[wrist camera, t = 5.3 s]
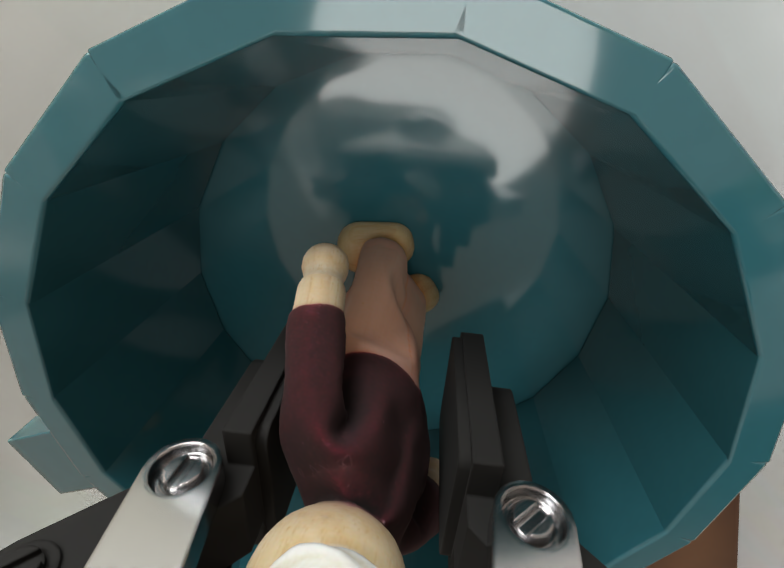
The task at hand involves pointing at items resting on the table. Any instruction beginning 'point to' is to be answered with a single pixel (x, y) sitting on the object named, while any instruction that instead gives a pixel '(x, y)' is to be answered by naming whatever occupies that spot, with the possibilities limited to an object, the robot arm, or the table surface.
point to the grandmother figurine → (356, 408)
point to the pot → (430, 234)
